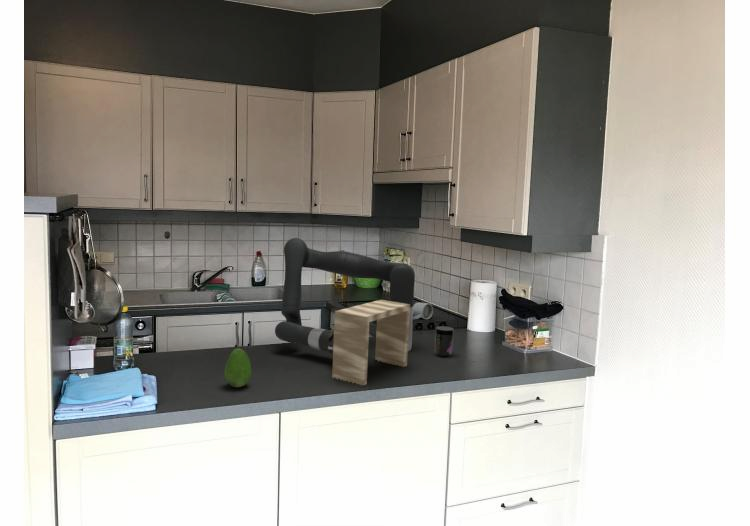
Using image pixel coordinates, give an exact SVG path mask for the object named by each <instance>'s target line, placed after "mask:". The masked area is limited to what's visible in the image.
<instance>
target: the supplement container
mask: <svg viewBox="0 0 750 526" xmlns="http://www.w3.org/2000/svg"><path fill="white" fill-rule="evenodd" d="M454 331H455V330H454V328H453V327H450V326H443V325H441V326H440V325H439V326H436V327H435V337H434V355H435V356H436V357H437V358H438V357H439V358H450V357H452V355H453V344H454Z"/></svg>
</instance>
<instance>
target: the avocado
mask: <svg viewBox="0 0 750 526" xmlns="http://www.w3.org/2000/svg"><path fill="white" fill-rule="evenodd" d="M224 366H225V367H224V379H225V381H226V383H227V384H229V386H231V387H233V388H237V389H238V388H241V387H244V386H245V385H246V384H247V383H248V382H249V381H250V379H251V376H252V364H251V360H250V358H249V356H248V353H247V352H246V351H245V350H243V348H239V347H238V348H235V349H234V350H232V351H231V353H230V355H229V357H228V359H227V361H226V364H225V365H224Z"/></svg>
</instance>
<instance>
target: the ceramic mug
mask: <svg viewBox="0 0 750 526" xmlns="http://www.w3.org/2000/svg"><path fill="white" fill-rule="evenodd" d="M433 313H434V307H433V305H432V304H431V303H428V302H422V301H421V302H419V301H418V302H415V303H413V320H417V319H420V318H421V319H423V320H429V319H430V318H432V316H433Z"/></svg>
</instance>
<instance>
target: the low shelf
mask: <svg viewBox="0 0 750 526" xmlns="http://www.w3.org/2000/svg"><path fill="white" fill-rule="evenodd" d="M409 316H410V304H405V303H398V302H392V301H389V300H385V299H378V300H374V301H370V302H366V303H362V304H358V305H353V306H350V307H347V308H346V307H345V308H342V309H338V310H334V318H333V319H334V320H333V331H334V343H333V353H332V374H331V377H332V379H334V378H336V379H335V380H338V379H340V380H339V381H342V380H343V382H346V381H348V382H347V383H350V382H352V383H351V384H354V383H356V384H355V385H358V384H359V386H362V387H363V385H364V386H365V385H368V384H367V383H368V382H367V381H368V366H369V365H368V361H369V358H368V357H369V350H368V344H369V340H370V323H371V322H375V321H376V330H375V331H376V333H375V334H376V335H375V355H374V361H375V360H377V362H380V361H381V362H380V363H383V364H389V365H395V366H397V365H398V366H399V367H402V368H405V367H407V366H408V352H409V351H408V335H409ZM398 366H397V367H398Z"/></svg>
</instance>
